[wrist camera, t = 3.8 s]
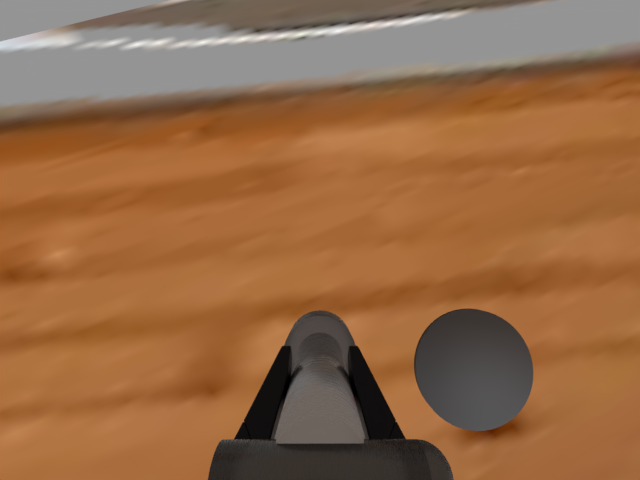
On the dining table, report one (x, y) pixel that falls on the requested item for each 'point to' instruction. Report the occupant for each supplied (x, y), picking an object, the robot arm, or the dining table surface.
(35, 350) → the dining table surface
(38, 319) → the dining table surface
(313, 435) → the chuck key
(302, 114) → the dining table surface
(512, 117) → the dining table surface
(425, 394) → the mat
